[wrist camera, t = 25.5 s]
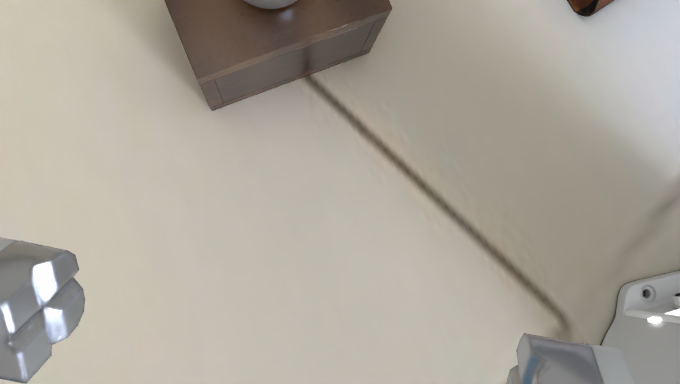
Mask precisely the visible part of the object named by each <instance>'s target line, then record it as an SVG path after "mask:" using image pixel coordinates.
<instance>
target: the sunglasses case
mask: <svg viewBox="0 0 680 384" xmlns="http://www.w3.org/2000/svg"><path fill="white" fill-rule="evenodd" d="M567 1H568V2H569V4H570V5H571V7H572V8H573V10H574V11H575V12H576V13H578V14H579V15H582V16H591V15H593V14H594V13H596V12H597V11H598V10H600V9H602V8H603V7H605V6H606V5H608V4H609V3H611V2H612V1H614V0H567Z"/></svg>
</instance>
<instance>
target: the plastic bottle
mask: <svg viewBox="0 0 680 384" xmlns="http://www.w3.org/2000/svg"><path fill="white" fill-rule="evenodd" d="M244 1H245V2H247V3H249V4H251V5H253V6H256V7H259V8H265V9H278V8H282V7H286V6H288V5H290V4H293V3H294V2H296V1H297V0H244Z"/></svg>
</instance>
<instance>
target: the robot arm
mask: <svg viewBox="0 0 680 384" xmlns="http://www.w3.org/2000/svg"><path fill="white" fill-rule="evenodd" d="M78 270H79V267H78V263H77V259H76V255H75V254H73V253H71V252H69V251H67V250H63V249H58V248H53V247H48V246H43V245H38V244H34V243H29V242H24V241H16V240H12V239H7V238H2V237H0V379H4V380H10V381H15V382H21V383H27V382H28V381H29V380H30V379H31V378H32V377H33V375H34V374H35V373H36V372H37V371H38V370H39V369H40V368H41V367H42V365H43V364H44V363H45V362H46V361H47V360H48V359H49V358H50V357H51V356H52V345H53V344H55V343H57V342H59V341H61V340H63V339H65V338H68V336H69V335H70V334H71V333H72V332H73V331H74V329H75V328H76V327H77V326H78V323H79V321H80V319H81V316H82V314H83V312H84V304H85V297H84V291H83V288H82V287H81V286H80V284H79V283H78V282H77V281H76V280H75V279H74V276H75V275H76V273H77V272H78ZM644 290H645V296H644V297H643V294H642V293H643V291H644ZM516 351H517V358H518V365H517V366H515V367H513V368H512V369H510V372H509V376H508V379H507V383H506V384H680V270H679V271H675V272H671V273H667V274H663V275H659V276H654V277H650V278H646V279H642V280H638V281H634V282H630V283H627V284H625V285H624V286H623V287H622V288H621V290H620V292H619V296H618V301H617V309H616V316H615V319H614V321H613V323H612V325H611V327H610V328H609V330H608V332H607V334H606V336H605V338H604V341H603V343H602V346H600V345H594V344H583V343H578V342H572V341H566V340H561V339H555V338H549V337H543V336H538V335H532V334H526V333H524V334H523V336H522V337H521V339H520V341H519V344H518V347H517V350H516Z"/></svg>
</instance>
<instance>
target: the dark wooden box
mask: <svg viewBox="0 0 680 384" xmlns="http://www.w3.org/2000/svg"><path fill="white" fill-rule="evenodd" d="M165 3H166V5H167V8H168V10H169V13H170V15H171V17H172V20H173V22H174V25H175V27H176V30H177V32H178V35H179V37H180V39H181V42H182V44H183V47H184V49H185V52H186V54H187V57H188V59H189V61H190V64H191V66H192V69H193V71H194V74H195V76H196V78H197V81H198V83H199V85H200V87H201V89H202V91H203V93H204V95H205V97H206V99H207V102H208V104H209V106H210V108H211V110H212V111H213V110H216V109H218V108H221V107H224V106H226V105H229V104H232V103H234V102H237V101H240V100H243V99H245V98H248V97H251V96H253V95H256V94H259V93H261V92H264V91H267V90H269V89H272V88H275V87H278V86H280V85H283V84H286V83H288V82H291V81H294V80H296V79H299V78H302V77H305V76H307V75H310V74H313V73H315V72H318V71H321V70H323V69H326V68H329V67H331V66H334V65H337V64H340V63H342V62H345V61H348V60H350V59H353V58H356V57H358V56H361V55H364V54H367V53H369V52H370V50H371V48H372V46H373V44H374V42H375V40H376V38H377V36H378V34H379V33H380V31H381V29H382V27H383V25H384V23H385V21H386V19H387V17H388V16H389V14H390V12H391V10H392V7H391V4H390V2H389V0H297V1H296V2H294V3H293V4H290V5H288V6H286V7H282V8H278V9H265V8H259V7H256V6H253V5H251V4H249V3H247V2H245V1H244V0H165Z"/></svg>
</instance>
